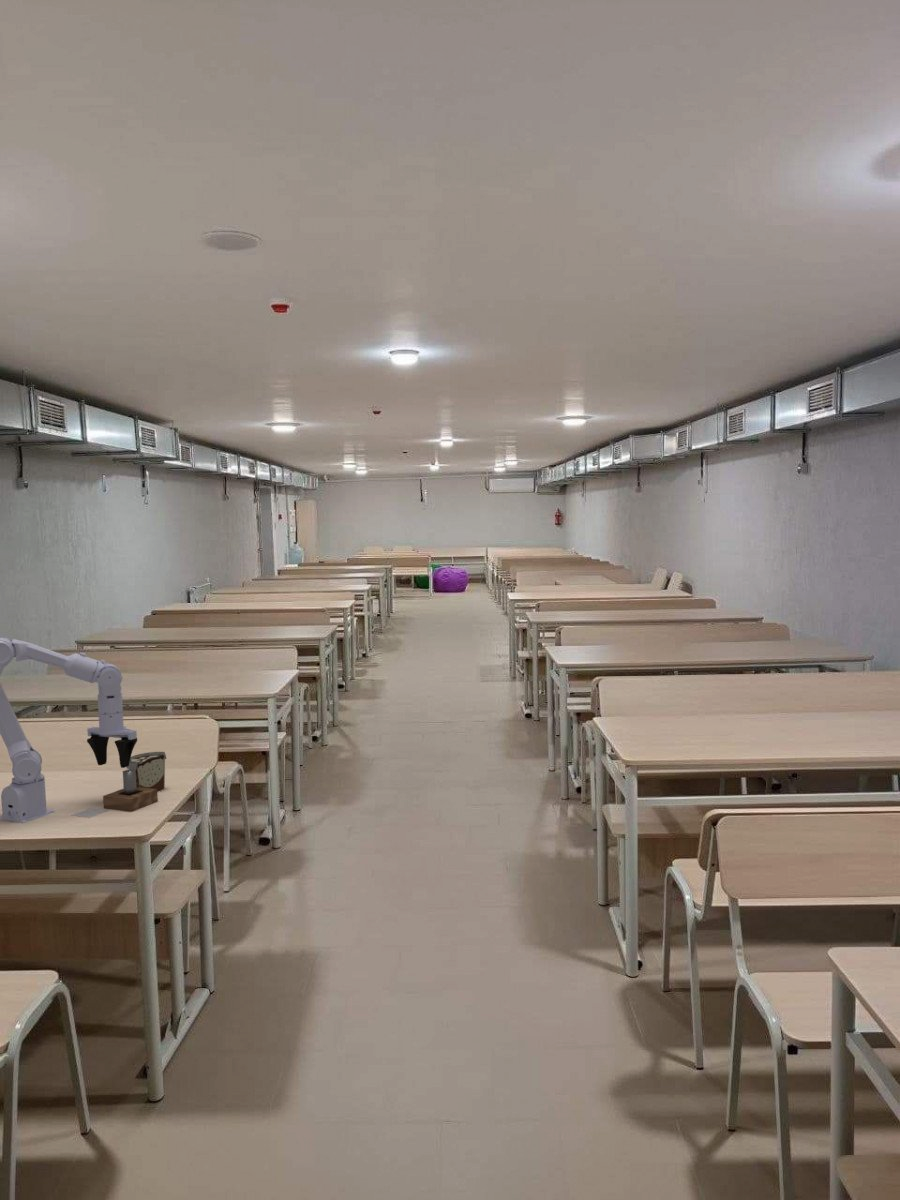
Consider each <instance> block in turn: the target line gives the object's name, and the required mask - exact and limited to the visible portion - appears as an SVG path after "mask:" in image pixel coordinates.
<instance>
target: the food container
mask: <svg viewBox="0 0 900 1200" xmlns="http://www.w3.org/2000/svg"><path fill="white" fill-rule="evenodd" d="M166 760H167V754H166V752H165V751H150V752H143V753H138V754H135V755H131V758H130V763H129V766H128V767H125V768H126V770H129V769H134V770H136V787H141V788H151V789H157V793H160V792H162V791H161V790H163V791H165V790H164V789H166V788H165V786H166V785H165V781H166V780H165V779H166V778H165V777H166V773H165V772H166ZM159 791H160V792H159Z"/></svg>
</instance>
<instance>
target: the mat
mask: <svg viewBox="0 0 900 1200" xmlns="http://www.w3.org/2000/svg"><path fill="white" fill-rule="evenodd" d="M108 811H109V809H100V808H91V807H89V808H87V809H84V810H82V811H78V812H77V813H76V812H75V813H73V814H71V815H70V816H72V817H79V818H88V819H90V818H92V817H95V816H98V815H101V814H104V813H106V812H108Z"/></svg>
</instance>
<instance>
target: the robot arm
mask: <svg viewBox="0 0 900 1200" xmlns="http://www.w3.org/2000/svg"><path fill="white" fill-rule="evenodd" d="M14 658H15V662H21V661H22V662H23V661H25V660H33V661H35V662H39V663H43V664H45V665H46V664H47V665H49V666H53V667H58V668H60V669H63V672H64V673H65V675H66V676H69V677H71V678H75V679H76V680H82V681H84V682H87V683H90V684H93V683H97V689H98V694H97V707H98V711H97V712H98V727H97V726H93V727H88V728H87V729H86V731H87V736H88V737H90V738H87V740H86V742H87V744H88V745H89V747H90V748H91V750H92V752H93V753H94V756H95V760H96V762H97V765H98V766H102V765H106V764H107V761H108V760H107V759H108V758H107V757H108V753H107V752H108V744H109V739H110V738H116V739H118V740H114V744H115V746H116V749H117V752H118V757H119V765H120V768H121V769H123V768H126V767H128V766H129V763H130V758H131V757H132V753H133V750H134V748H135V746H136V744H137V742H138V738H137V735H138V733H137V730H136V729H135V730H134V729H130V728H127V726H124V708H123V705H124V704H123V693H122V685H121V683H122V682H123V675H122V673H121V671H120V669H119V667H118V666H116V665H115V664H113V663H111V662H106V660H104V659H101V660H97V659H94V658H92V657H88V656H87V653H84V652H80V654H79V653H72V654H70V655H66V654H63V653H60V652H57V651H54V650H51V649H48V648H45V647H43V646H40V645H37V644H35V643H31V642H29V641H24V640H21V639H20V640H19V639H14V638H13V639H11V638H9V637H7V636H0V676H2V673H3V671H4V669H5V668H6V667H7V666H8V665H9V664H10V663H11V662H12V660H13V659H14ZM0 737H1V739H2V741H3V742H4V745H5V747H6V750H7V752H8V755H9V758H10V761H11V764H12V769H11V770H12V771H11V773H12V775H13V777H12V778H11V783H10V784H9V785H8V786H6V787H4V788H3V789H2V790H1V795H0V800H1V813H2V816H1V817H0V820H1V821H6V822H7V821H8V822H13V823H14V822H15V823H21V824H24V823H27V822H31V821H33V820H36V819H38V818H41V817H44V816H47V815H49V814H52V813H55V812H56V810H55V809H50V808H49V809H47V795H46V792H47V791H46V780H45V775H44V774H43V773H42V764H43V757H42V756H41V754H40V753H39V751H37V750H35V749H34V748H33V746H32V745H31V743H30V740H29V739H28V738H27V736H26V734H25V733H24V730H23V728H22V726H21V723H20V722H19V719H18V718H17V715H16V713H15V711H14V710H13V707H12V705H11V703H10V700H9V698H8V697H7V695H6V693H5V691H4V688H3V686H2V684H1V683H0Z"/></svg>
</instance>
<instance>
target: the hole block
mask: <svg viewBox="0 0 900 1200" xmlns="http://www.w3.org/2000/svg"><path fill="white" fill-rule="evenodd" d="M136 789H137V794H134V795H131V796H128V795H124V788H121V789H118V790H115V791H113V792H109V793H107V794H104V795H102V801H103V802H102V803H103V810H114V811H122V812H131V813H132V812H135V811H138V810H140V809H142V808H145V807H147V806H150V805H152V804H155V803H158V802H159V799H158V798H159V797H158V795H159V794H158V792H157V789H151V788H141V787H136Z"/></svg>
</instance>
